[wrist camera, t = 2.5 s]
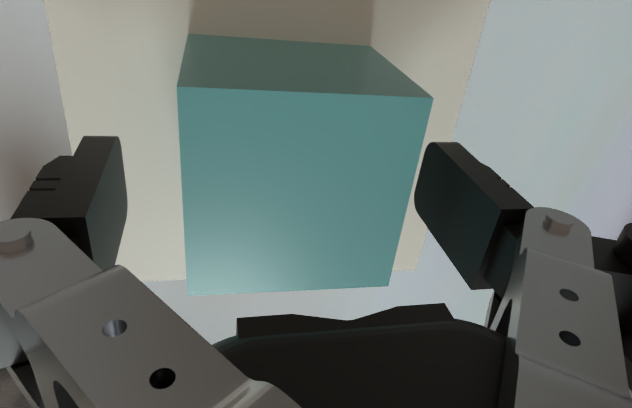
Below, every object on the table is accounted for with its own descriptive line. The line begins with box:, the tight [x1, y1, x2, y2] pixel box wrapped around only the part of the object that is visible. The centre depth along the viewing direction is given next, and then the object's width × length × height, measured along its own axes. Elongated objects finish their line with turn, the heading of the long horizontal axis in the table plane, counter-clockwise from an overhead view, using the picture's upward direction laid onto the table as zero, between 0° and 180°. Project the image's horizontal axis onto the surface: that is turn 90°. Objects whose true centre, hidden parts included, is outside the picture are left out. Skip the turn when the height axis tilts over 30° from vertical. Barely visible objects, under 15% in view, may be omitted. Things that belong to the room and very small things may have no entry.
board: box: [44, 0, 491, 282], centre depth 17 cm, size 13×13×3 cm
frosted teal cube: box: [177, 34, 434, 296], centre depth 13 cm, size 6×6×5 cm
